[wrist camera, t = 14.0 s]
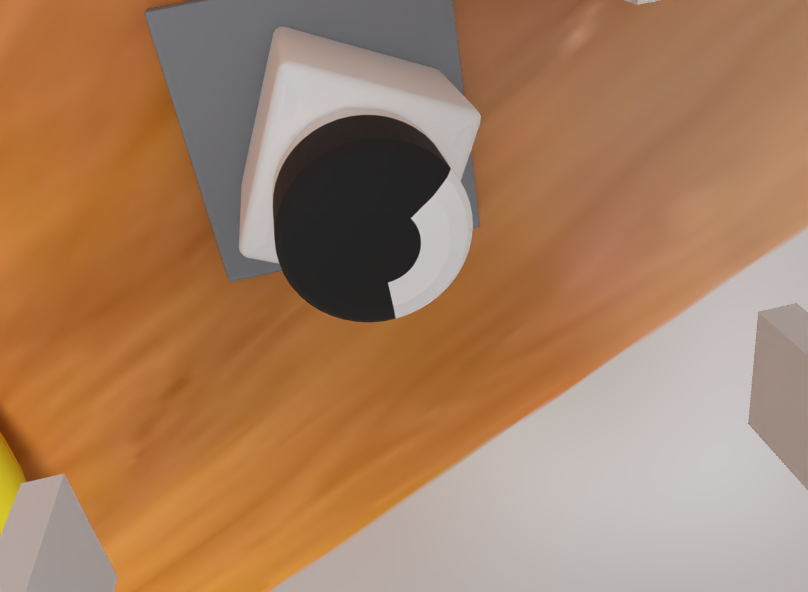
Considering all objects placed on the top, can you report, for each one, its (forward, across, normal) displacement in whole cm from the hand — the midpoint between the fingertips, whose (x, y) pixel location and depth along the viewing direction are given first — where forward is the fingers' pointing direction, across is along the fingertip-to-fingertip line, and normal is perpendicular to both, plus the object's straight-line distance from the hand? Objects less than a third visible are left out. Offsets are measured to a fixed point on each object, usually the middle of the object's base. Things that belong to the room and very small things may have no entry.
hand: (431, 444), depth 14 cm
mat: (+22, 0, 0) cm, 22 cm away
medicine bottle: (+21, 0, 0) cm, 21 cm away
